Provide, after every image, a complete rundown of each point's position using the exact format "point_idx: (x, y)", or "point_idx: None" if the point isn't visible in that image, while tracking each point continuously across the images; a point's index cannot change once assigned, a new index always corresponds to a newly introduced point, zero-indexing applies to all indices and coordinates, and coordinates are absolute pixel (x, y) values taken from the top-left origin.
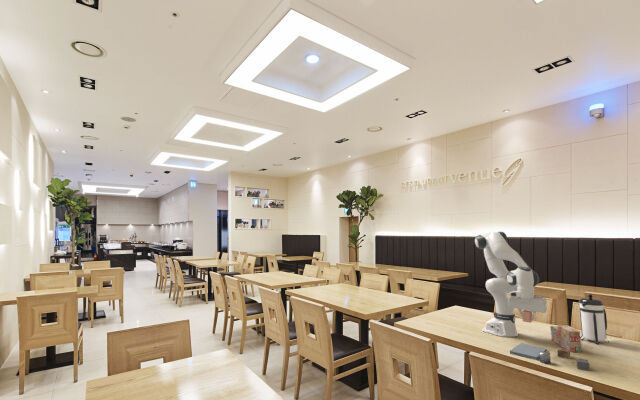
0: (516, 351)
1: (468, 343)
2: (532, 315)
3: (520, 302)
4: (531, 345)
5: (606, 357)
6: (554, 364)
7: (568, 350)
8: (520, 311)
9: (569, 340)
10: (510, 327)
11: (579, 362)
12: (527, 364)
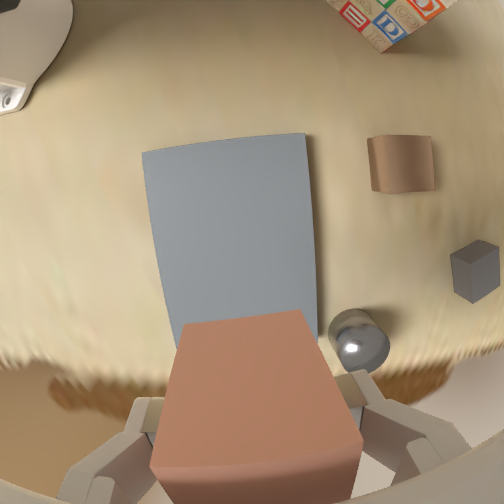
0: None
1: (15, 353)
2: (366, 447)
3: None
4: (211, 151)
5: (479, 51)
6: (385, 322)
7: (431, 159)
8: (133, 491)
9: (411, 31)
10: (20, 39)
11: (476, 298)
12: None
